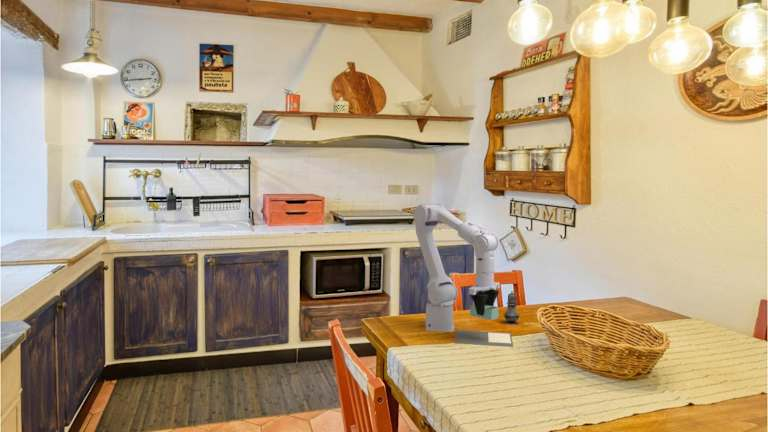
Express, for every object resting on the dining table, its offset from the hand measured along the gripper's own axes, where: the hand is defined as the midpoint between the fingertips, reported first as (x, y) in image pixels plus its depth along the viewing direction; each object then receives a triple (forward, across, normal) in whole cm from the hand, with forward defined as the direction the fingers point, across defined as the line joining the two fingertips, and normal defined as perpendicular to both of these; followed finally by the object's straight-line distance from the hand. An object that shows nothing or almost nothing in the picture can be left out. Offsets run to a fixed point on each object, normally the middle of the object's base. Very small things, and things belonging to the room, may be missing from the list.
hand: (484, 313), depth 159 cm
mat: (+9, +1, +1) cm, 9 cm away
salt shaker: (+9, +24, +4) cm, 26 cm away
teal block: (+1, 0, 0) cm, 1 cm away
